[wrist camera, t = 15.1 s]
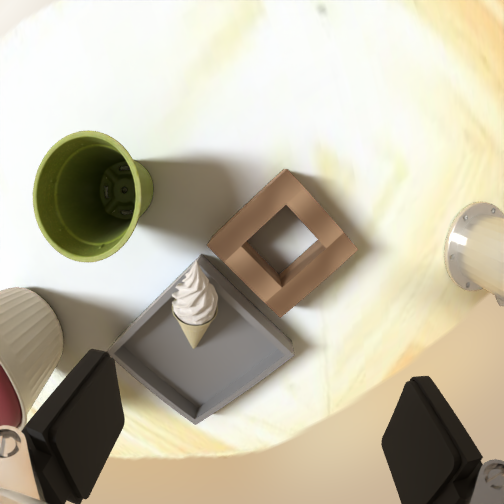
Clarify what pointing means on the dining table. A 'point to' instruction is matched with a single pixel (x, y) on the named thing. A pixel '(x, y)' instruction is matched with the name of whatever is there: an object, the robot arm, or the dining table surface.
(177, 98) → the dining table surface
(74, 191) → the plant pot
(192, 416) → the grey tray
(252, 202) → the cone stand
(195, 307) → the ice cream cone
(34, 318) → the canister
